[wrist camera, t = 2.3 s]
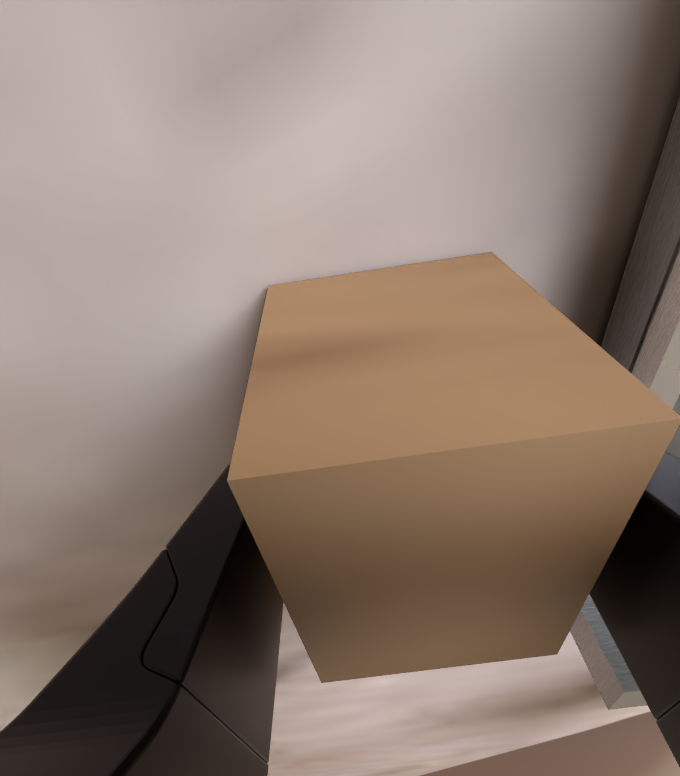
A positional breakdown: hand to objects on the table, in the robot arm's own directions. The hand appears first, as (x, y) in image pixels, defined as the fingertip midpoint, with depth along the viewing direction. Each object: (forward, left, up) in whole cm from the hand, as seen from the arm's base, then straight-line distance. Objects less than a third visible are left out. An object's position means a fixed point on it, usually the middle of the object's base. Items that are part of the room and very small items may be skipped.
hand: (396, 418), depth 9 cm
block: (0, 0, -1) cm, 1 cm away
